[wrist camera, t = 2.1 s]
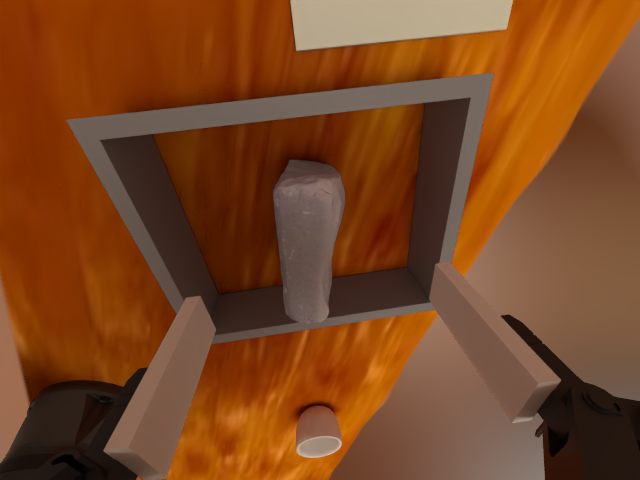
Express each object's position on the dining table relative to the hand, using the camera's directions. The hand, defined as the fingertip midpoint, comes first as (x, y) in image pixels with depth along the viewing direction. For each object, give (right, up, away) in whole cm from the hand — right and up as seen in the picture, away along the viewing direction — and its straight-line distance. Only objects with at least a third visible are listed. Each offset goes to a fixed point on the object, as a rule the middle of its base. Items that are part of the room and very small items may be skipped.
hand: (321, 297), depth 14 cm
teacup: (-1, -29, +32) cm, 43 cm away
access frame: (-2, +6, +11) cm, 13 cm away
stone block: (-2, +6, +11) cm, 13 cm away
